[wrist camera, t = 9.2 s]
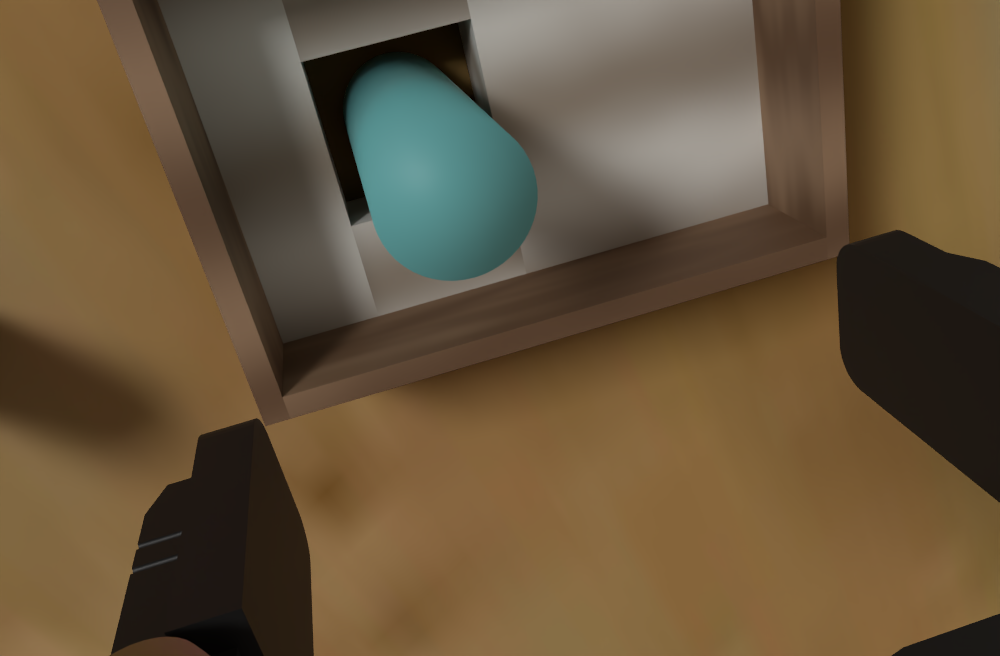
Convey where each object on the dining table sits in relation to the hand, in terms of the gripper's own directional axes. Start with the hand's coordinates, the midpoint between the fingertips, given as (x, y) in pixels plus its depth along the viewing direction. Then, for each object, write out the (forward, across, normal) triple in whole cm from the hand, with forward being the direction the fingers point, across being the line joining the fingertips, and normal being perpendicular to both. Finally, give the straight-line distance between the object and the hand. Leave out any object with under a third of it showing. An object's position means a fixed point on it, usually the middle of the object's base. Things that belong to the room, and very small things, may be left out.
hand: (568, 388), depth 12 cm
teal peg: (+22, 0, 0) cm, 22 cm away
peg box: (+22, -3, 0) cm, 22 cm away
